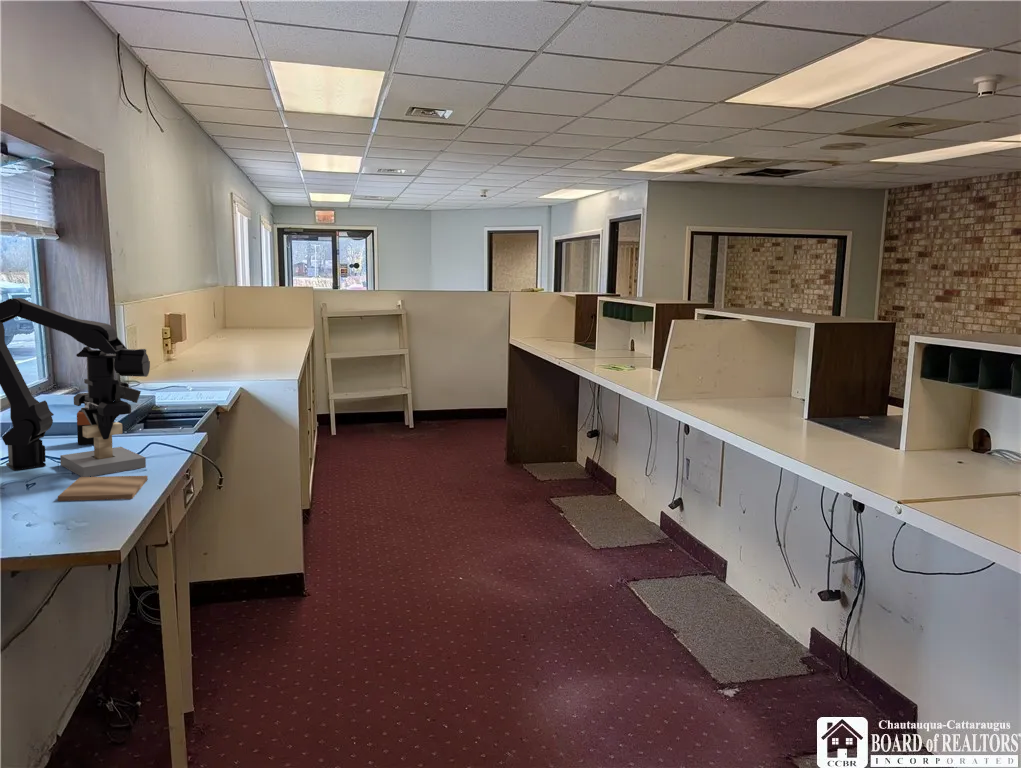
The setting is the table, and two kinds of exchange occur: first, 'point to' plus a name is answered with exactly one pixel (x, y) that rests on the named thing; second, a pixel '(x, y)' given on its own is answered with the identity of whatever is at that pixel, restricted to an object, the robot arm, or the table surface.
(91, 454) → the keyhole plate
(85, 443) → the battery
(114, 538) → the table surface
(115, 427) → the t key
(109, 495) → the walnut pad
